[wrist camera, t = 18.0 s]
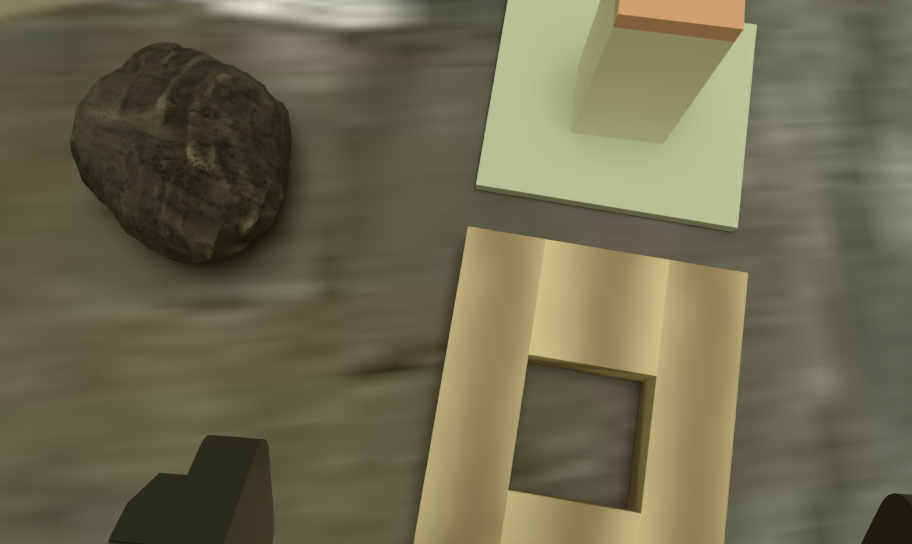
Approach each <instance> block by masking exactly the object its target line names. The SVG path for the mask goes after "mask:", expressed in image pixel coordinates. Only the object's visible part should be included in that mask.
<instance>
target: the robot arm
mask: <svg viewBox="0 0 912 544" xmlns="http://www.w3.org/2000/svg"><path fill="white" fill-rule="evenodd" d="M273 532H274V513H273V500H272V487H271V473H270V460H269V448H268V443H267V441H266V440H265V439H253V438H241V437H229V436H217V435H208V436H206V437H205V438H204V440H203V441H202V443H201V445H200V447H199V450H198V452H197V454H196V456H195V459H194V461H193V463H192V466H191V468H190V470H189V472H188V475H178V474H166V473H159V474H158V475H157V476H156V477H155V478H154V479H153V480H152V481H151V482H149V483H148V484H147V485H146V486H145V487H144V488H143V489H142V490H141V491H140V492H139V493H138V494H137V495H136V496H134V497H133V498H132V499H131V500H130V501H129V502H128V503H127V505H126V507H125V509H124V511H123V513H122V515H121V517H120V519H119V520H118V522H117V524H116V526H115V528H114V530H113V532H112V534H111V536H110V538H109V540H108V541H109V543H108V544H272V542H273ZM861 544H912V495H908V494H895V493H893V494H890V495H888V496H887V497H886V498H885V499H884V500H883V502H882V503H881V505H880V507H879V509H878V511H877V513H876V515H875V517H874V519H873V521H872V523H871V525H870V527H869V529H868V531H867V533H866V535H865V537H864V539H863V541H862V543H861Z"/></svg>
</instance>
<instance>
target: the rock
mask: <svg viewBox="0 0 912 544" xmlns="http://www.w3.org/2000/svg"><path fill="white" fill-rule="evenodd" d="M70 145H71V152H72V156H73V158H74V160H75V162H76V165H77V167H78V170H79V173H80V176H81V179H82V181H83V182H84V183H85V184H86V186H87V187H88V188H89V189H90V190H91V191H92V192H93V193H94V194H95V196H96V197H97V198H98V199H99V200H100V201H101V202H102V203H103V204H105V205H107V207H108V208H109V209H110V210H111V211H112V213H113V214H114V216H115V217H116V219H117V220H118V222H119V223H120V225H121V226H122V228H123V229H124V230H125V231H126V232H127V233H128V234H129V235H131V236H132V237H134V238H136V239H137V240H139V241H140V242H142V243H143V244H144V245H145V246H147V247H148V248H150V249H152V250H153V251H155V252H158V253H160V254H162V255H163V256H165V257H167V258H169V259H172V260H176V261H181V262H185V263H198V262H211V261H215V260H219V259H222V258H226V257H229V256H232V255H234V254H236V253H238V252H239V251H241V250H243V249H244V248H245V247H247V246H248V245H249V244H250V243H251V242H252V241H253V240H254V239H255V238H256V237H257V236H258V235H260V234H261V233H263V232H264V231H266V230H267V229H269V228H270V227H271V226H272V224H273V223H274V221H276V220H278V219H279V216H280V214H281V212H282V204H283V202H284V199H285V195H286V190H287V184H288V179H289V172H290V168H289V162H290V152H291V146H292V137H291V128H290V121H289V113H288V110H287V109H286V108H285V106H284V104H283V103H282V102H280V101H277V100H276V99H275V98H274V97H273V96H272V95H271V94H270V93H269V92H268V91H267V89H266V87H265V86H264V85H263V84H262V83H260V82H259V81H258V80H256V79H255V78H253V77H252V76H250V75H249V74H248V73H246V72H243V71H241V70H239V69H238V68H236V67H235V66H232V65H228V64H224V63H222V62H220V61H218V60H217V59H215V58H213V57H211V56H209V55H207V54H206V53H204V52H200V51H198V50H195V49H191V48H190V49H189V48H183V47H182V46H181V45H179V44H176V43H156V44H151V45H149V46H147V47H145V48H142V49H140V50H139V51H137V52H136V53H134V54H133V55H132V56H131V57H130V58H129V59H128V60H127V61H126V62H125V64H124V65H123V66H122V67H121V68H119V69H117V70H115V71H113V72H111V73H109V74H107V75H106V76H104V77H103V78H101V79H99V80H98V81H97V82H96V83H95V84H94V85H93V86H92V87H91V88H90V89H89V91H88V93H87V95H86V96H85V98H84V99H83V100H82V101H81V102H80V103H79V105H78V106H77V107H76V115H75V120H74V126H73V131H72V135H71V143H70Z"/></svg>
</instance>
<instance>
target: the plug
mask: <svg viewBox="0 0 912 544" xmlns="http://www.w3.org/2000/svg"><path fill="white" fill-rule="evenodd" d="M744 13H745V0H600V3H599V6H598V9H597V12H596V15H595V18H594V21H593V23H592V26H591V29H590V32H589V35H588V38H587V41H586V44H585V47H584V50H583V52H582V55H581V58H580V61H579V64H578V72H577V81H576V91H575V101H574V111H573V121H572V131H571V132H572V133H580V134H588V135H596V136H604V137H612V138H620V139H629V140H637V141H645V142H653V143H661V144H664V142H665V141H666V139H667V138H668V136H669V135H670V134H671V132H672V131H673V129H674V128H675V126H676V125H677V124H678V122H679V121H680V119H681V118H682V117H683V115H684V114H685V112H686V111H687V109H688V108H689V107H690V105H691V104H692V102H693V101H694V99H695V98H696V97H697V95H698V94H699V92H700V91H701V89H702V88H703V87H704V85H705V84H706V82H707V81H708V79H709V78H710V77H711V75H712V74H713V72H714V71H715V69H716V68H717V67H718V65H719V64H720V62H721V61H722V59H723V58H724V57H725V55H726V54H727V52H728V51H729V49H730V48H731V47H732V45H733V44H734V42H735V41H736V39H737V38H738V37H739V35H740V34H741V32H742V31H743V30H744Z"/></svg>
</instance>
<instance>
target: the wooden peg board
mask: <svg viewBox="0 0 912 544" xmlns="http://www.w3.org/2000/svg"><path fill="white" fill-rule="evenodd" d="M747 280H748V273H744V272H738V271H732V270H726V269H720V268H714V267H708V266H702V265H697V264H691V263H685V262H679V261H673V260H667V259H661V258H655V257H649V256H643V255H637V254H631V253H625V252H619V251H613V250H607V249H601V248H595V247H589V246H583V245H577V244H571V243H565V242H559V241H553V240H547V239H541V238H535V237H529V236H523V235H517V234H511V233H505V232H499V231H493V230H487V229H481V228H475V227H469V226H468V230H467V236H466V242H465V248H464V253H463V259H462V265H461V271H460V277H459V282H458V288H457V294H456V300H455V306H454V311H453V317H452V323H451V329H450V335H449V340H448V346H447V352H446V358H445V364H444V369H443V375H442V381H441V387H440V393H439V399H438V404H437V410H436V416H435V422H434V428H433V433H432V439H431V445H430V451H429V457H428V462H427V468H426V474H425V480H424V486H423V491H422V497H421V503H420V509H419V515H418V521H417V526H416V532H415V538H414V544H724V537H725V525H726V514H727V503H728V492H729V481H730V470H731V458H732V447H733V436H734V425H735V414H736V403H737V391H738V380H739V369H740V358H741V347H742V336H743V324H744V313H745V302H746V291H747ZM527 362H528V363H534V364H540V365H546V366H551V367H557V368H563V369H569V370H575V371H581V372H587V373H593V374H598V375H604V376H610V377H616V378H622V379H628V380H634V381H640V382H642V383H641V392H640V400H639V409H638V417H637V426H636V434H635V443H634V452H633V460H632V469H631V477H630V486H629V495H628V503H627V509H621V508H615V507H610V506H604V505H598V504H592V503H587V502H581V501H575V500H569V499H564V498H558V497H552V496H546V495H541V494H535V493H529V492H523V491H518V490H512V489H509V482H510V475H511V469H512V462H513V455H514V449H515V442H516V435H517V428H518V422H519V415H520V408H521V402H522V395H523V388H524V382H525V375H526V368H527Z"/></svg>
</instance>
